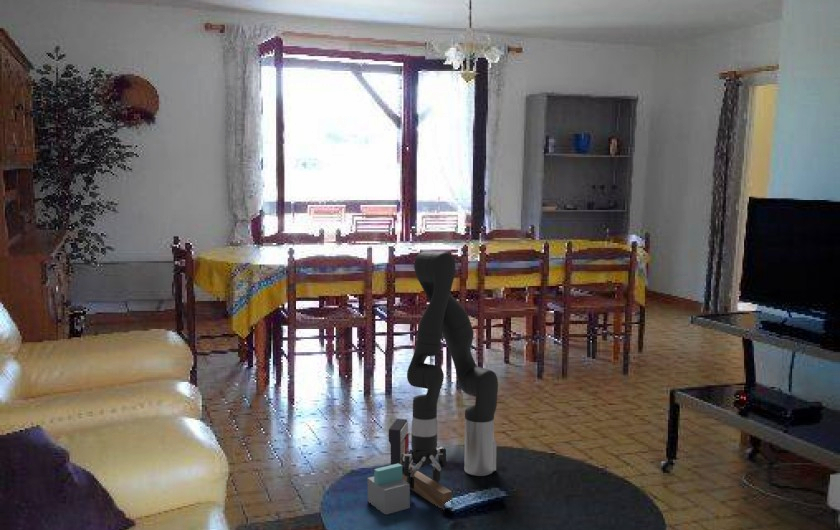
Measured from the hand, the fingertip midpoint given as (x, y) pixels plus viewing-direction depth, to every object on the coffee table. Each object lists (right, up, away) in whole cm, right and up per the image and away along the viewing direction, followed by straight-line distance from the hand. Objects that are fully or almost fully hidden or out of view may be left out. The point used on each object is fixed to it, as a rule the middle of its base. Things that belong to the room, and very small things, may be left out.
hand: (423, 485), depth 210 cm
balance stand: (-10, -4, -6) cm, 12 cm away
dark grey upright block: (-8, -1, +19) cm, 20 cm away
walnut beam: (+1, -3, 0) cm, 3 cm away
